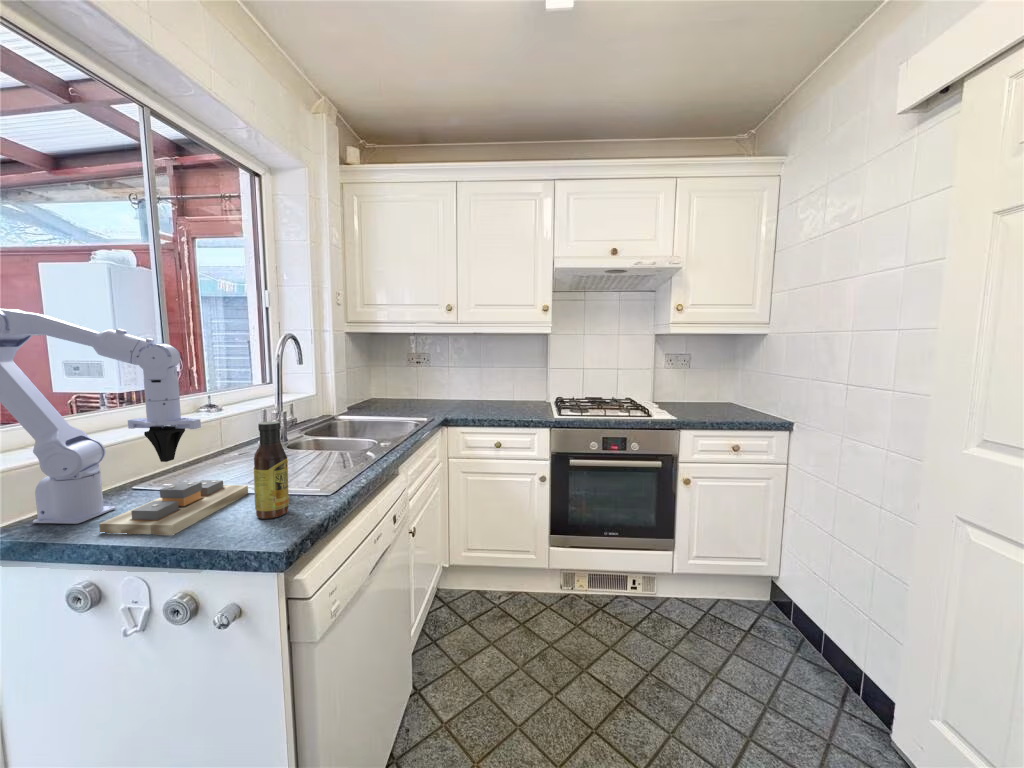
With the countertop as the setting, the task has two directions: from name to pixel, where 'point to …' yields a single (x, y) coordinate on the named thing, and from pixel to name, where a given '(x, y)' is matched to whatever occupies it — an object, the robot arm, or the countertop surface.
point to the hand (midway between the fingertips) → (167, 460)
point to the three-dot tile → (211, 487)
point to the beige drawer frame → (175, 514)
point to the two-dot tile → (182, 492)
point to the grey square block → (154, 511)
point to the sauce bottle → (270, 473)
